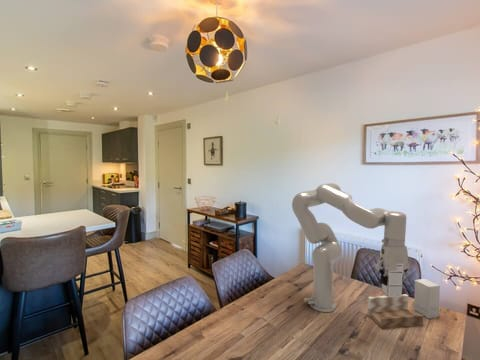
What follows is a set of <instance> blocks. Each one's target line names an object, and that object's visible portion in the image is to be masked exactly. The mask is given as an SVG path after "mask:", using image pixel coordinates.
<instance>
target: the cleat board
mask: <svg viewBox="0 0 480 360" xmlns="http://www.w3.org/2000/svg"><path fill="white" fill-rule="evenodd" d="M408 308H409V295H408V294H407V293H404V294H403V293H402V297H400V298H396V297H395V298H394V297H388V296H387V295H377V296H376V295H375V296H367V316H368V317H369V318H370V319H371V320H372V321H373V322H375V324H376V325H377V326H378V327H380V329H382V330H385V329H397V328H409V327H419V326H423V325H424V315H422V314H421V313H419V314H415V313H414V312H412V311H410V310H409V309H408Z"/></svg>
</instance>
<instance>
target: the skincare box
mask: <svg viewBox="0 0 480 360" xmlns="http://www.w3.org/2000/svg"><path fill="white" fill-rule="evenodd" d="M440 288H441V287H440V284H437V283H435V282H433V281H431V280H429V279H426V278H421V279H415V280H414V302H413V303H414V307H413V308H414V311H416V312H418V313H419V314H422V315H423V317H425V318H427V319H435V318H439V317H440V298H441V297H440V295H441V293H440V290H441V289H440Z"/></svg>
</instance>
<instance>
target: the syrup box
mask: <svg viewBox="0 0 480 360" xmlns="http://www.w3.org/2000/svg"><path fill="white" fill-rule="evenodd" d="M384 271H385V270H384ZM386 276H387V277H388V281H387V286H385V285H384V284H382V283H381V292H382V293H384V295H385V296H388V297H394V298H395V297H396V298H400V297H402V294H403V285H402V277H403V278H404V275H403V263H398V264H397V270H394V271H388V273H387V275H386Z"/></svg>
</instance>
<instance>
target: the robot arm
mask: <svg viewBox="0 0 480 360" xmlns="http://www.w3.org/2000/svg"><path fill="white" fill-rule="evenodd" d="M324 204H328V205H330V206H332V207H333V208H335V209H336V210H339V211H341V212H342V214H344V216H345V217H346V218H347V219H349V220H350V221H352V222H354V223H355V224H358V225H359V226H361V227H363V228H366V229H371V230H372V229H375V228H377V227H382V226H384V229H383V233H384V234H383V239H381V243H382V245H381V247H380V250H379V251H380V252H379V260H378V262H377V263H376V264H375V265H374V268H375V269H376V270H377V272H378V273H379V274H380V283H381V285H382V284H384V285H385V286H387V281H388V277H387V276H386V275H387V273H388V271H394V270H397V264H398V263H403V277H402V286H403V285H404V276H405V275H406V273H407V271H408V270H409V269H410V268H411V266H412V265H411V264H410V263H409V253H408V248H407V245H406V244H405V243H406V232H407V231H406V230H407V214H406V213H404V212H400V211H393V210H387V209H384V208H378V207H377V208H371V209H366V208H365V207H362V206H360V205H358V204H357V203H355V202H354V200H353V197H352V195H351V194H349V193H347V192H345V191H343V190H341V187H340V186H339V185H338V184H336V183H333V182H332V183H331V182H330V183H323V184H320V185H318V187H316V189H313V190H306V191H301V192H299V193H297V194H296V195H295V196H293V198H292V203H291V208H292V211H293V214H294V215H295V217H296V218H297V220H298V223H299V225H300V227H301V229H302V231H303V233H304V235H305V237H306V239H307V241H308V242H309V244H310V243H311V245H314V244H319V243H320V244H319V245H318V246H316V247H315V248H314V249H313V250H312V253H311V258H312V265H313V277H312V278H313V283H312V284H313V289H312V294H311V296H310V297H304V298H303V302H304V303H308V305H310V307H311V308H312V309H314V310H315V311H317V312H321V313H332V312H334V311H335V310H336V304H335V302H334V300H333V298H334V295H333V294H334V293H333V292H334V289H333V288H334V269H333V266H332V263H333V262H335V261H336V260H338V259H340V257H341V256H342V252H343V250H342V247H341V245H340V243H339V240H338V238H337V237H336V234H335V233H334V231H333V229H332V227H331V226H330V225H329V224H328V223H325V222H318V221H317V219H316V217H315V215H314V213H313V212H312V211H311V210H310V209H309V208H310V207H316V206H317V207H318V206H320V205H324ZM384 270H385V271H384Z"/></svg>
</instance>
